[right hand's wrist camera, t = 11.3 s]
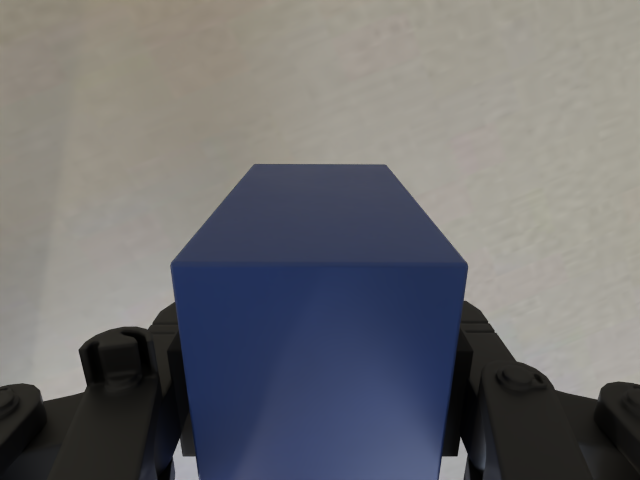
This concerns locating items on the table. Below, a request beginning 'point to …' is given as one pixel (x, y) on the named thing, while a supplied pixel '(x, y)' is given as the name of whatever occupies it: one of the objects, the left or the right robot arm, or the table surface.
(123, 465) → the right robot arm
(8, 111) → the table surface
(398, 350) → the bar
